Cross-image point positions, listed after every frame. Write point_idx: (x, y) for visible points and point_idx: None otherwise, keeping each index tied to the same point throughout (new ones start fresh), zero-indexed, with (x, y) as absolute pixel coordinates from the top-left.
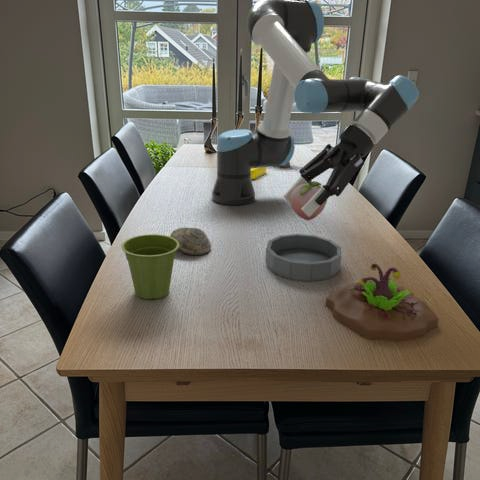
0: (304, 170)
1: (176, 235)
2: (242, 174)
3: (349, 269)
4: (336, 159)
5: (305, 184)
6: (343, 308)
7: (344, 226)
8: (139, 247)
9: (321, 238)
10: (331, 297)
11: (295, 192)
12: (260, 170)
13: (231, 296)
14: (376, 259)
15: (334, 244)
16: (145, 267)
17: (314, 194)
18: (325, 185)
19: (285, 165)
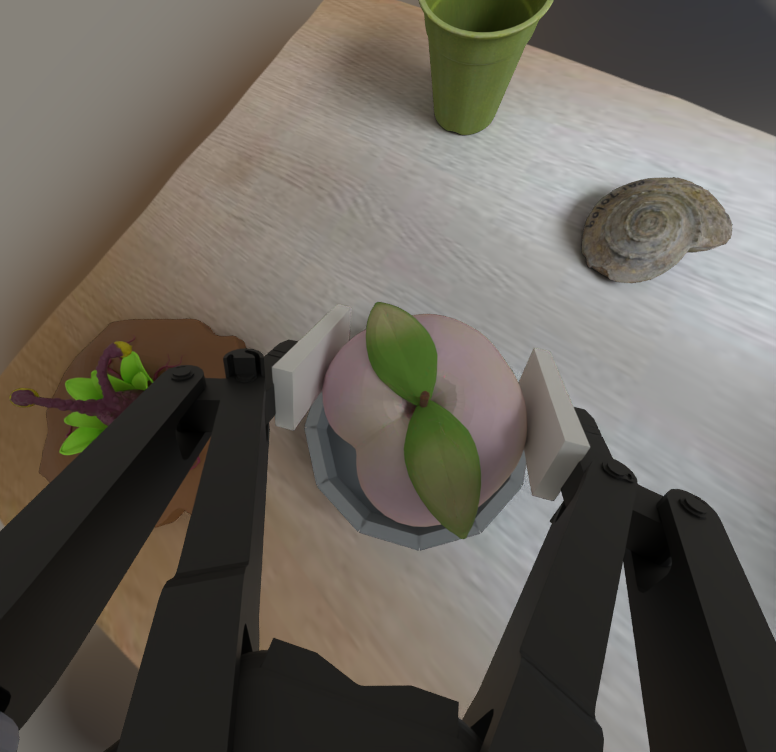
0: (666, 523)
1: (666, 183)
2: None
3: (327, 519)
4: (237, 665)
5: (461, 393)
6: (182, 331)
7: None
8: (534, 10)
9: (447, 532)
10: (227, 344)
11: (441, 318)
12: None
13: (374, 214)
14: (328, 651)
15: (387, 532)
16: (437, 5)
17: (315, 344)
18: (234, 358)
19: None
